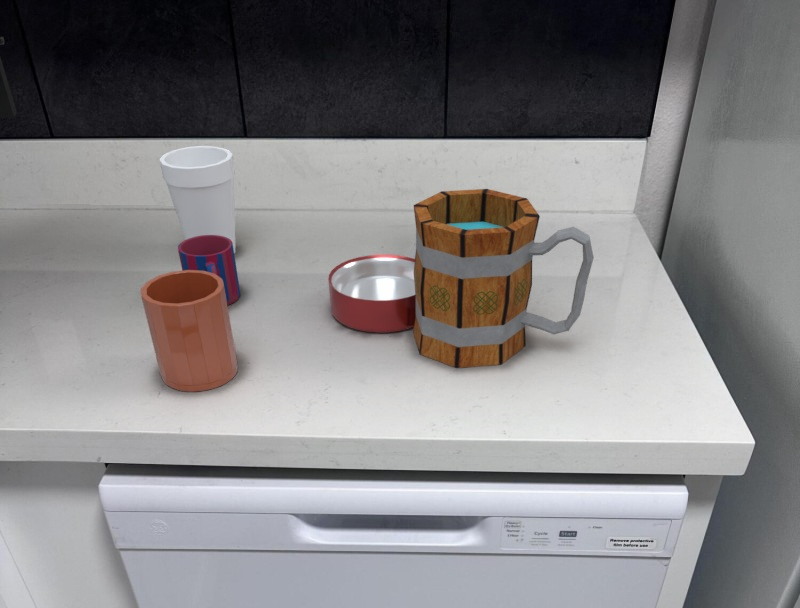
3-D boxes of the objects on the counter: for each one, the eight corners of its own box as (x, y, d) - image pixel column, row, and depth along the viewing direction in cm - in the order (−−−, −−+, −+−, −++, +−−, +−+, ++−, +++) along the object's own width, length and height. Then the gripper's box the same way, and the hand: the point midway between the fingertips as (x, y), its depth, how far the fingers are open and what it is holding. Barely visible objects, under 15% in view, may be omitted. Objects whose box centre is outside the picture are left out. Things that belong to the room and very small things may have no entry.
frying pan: (392, 229, 118) (391, 185, 114) (476, 238, 116) (479, 193, 111) (315, 327, 96) (311, 276, 91) (418, 341, 93) (419, 289, 89)
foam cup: (189, 240, 116) (170, 145, 107) (251, 240, 116) (237, 145, 107) (172, 267, 109) (151, 168, 100) (238, 267, 109) (223, 168, 100)
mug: (398, 360, 90) (396, 228, 79) (426, 307, 99) (427, 184, 89) (572, 382, 86) (594, 247, 76) (583, 325, 95) (604, 198, 85)
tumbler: (145, 379, 87) (123, 294, 80) (196, 346, 93) (179, 264, 86) (204, 399, 84) (185, 312, 77) (252, 364, 89) (239, 280, 83)
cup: (239, 283, 105) (232, 232, 100) (241, 318, 98) (233, 265, 93) (188, 287, 104) (178, 236, 100) (187, 323, 97) (175, 269, 92)
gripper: (-61, -165, 67) (26, 132, 83) (-24, -170, 77) (48, 98, 93) (-155, -166, 66) (-49, 135, 82) (-105, -171, 76) (-19, 100, 92)
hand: (2, 115), depth 88 cm, fingers closed
